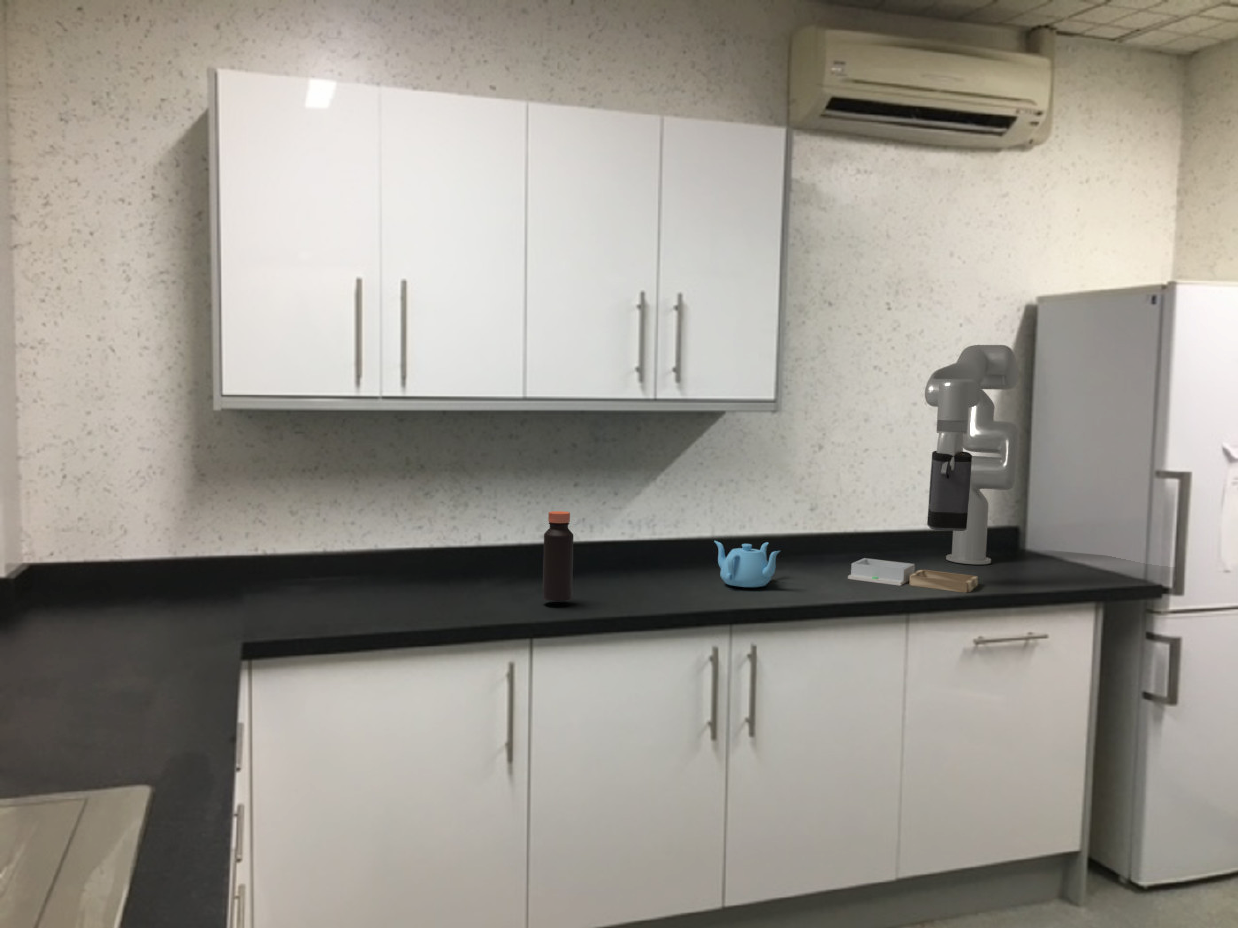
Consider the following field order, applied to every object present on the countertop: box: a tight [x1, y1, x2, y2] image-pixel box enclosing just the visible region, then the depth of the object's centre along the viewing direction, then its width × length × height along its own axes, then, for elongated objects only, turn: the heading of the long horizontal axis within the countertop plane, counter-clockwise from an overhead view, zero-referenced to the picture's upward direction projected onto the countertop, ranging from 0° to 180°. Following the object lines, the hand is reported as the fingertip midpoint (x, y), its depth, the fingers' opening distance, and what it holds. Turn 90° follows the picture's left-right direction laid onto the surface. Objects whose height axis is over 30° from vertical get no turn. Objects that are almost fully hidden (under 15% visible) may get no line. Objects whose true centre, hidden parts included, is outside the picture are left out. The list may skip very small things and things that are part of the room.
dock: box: [847, 557, 916, 587], centre depth 251 cm, size 16×14×4 cm
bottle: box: [542, 510, 574, 602], centre depth 213 cm, size 7×7×20 cm
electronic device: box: [926, 450, 973, 532], centre depth 239 cm, size 9×6×20 cm, turn 84°
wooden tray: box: [908, 569, 979, 593], centre depth 242 cm, size 12×15×2 cm
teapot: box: [713, 540, 781, 588], centre depth 237 cm, size 15×15×10 cm
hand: (948, 496), depth 241 cm, fingers closed on electronic device, 4 cm apart
